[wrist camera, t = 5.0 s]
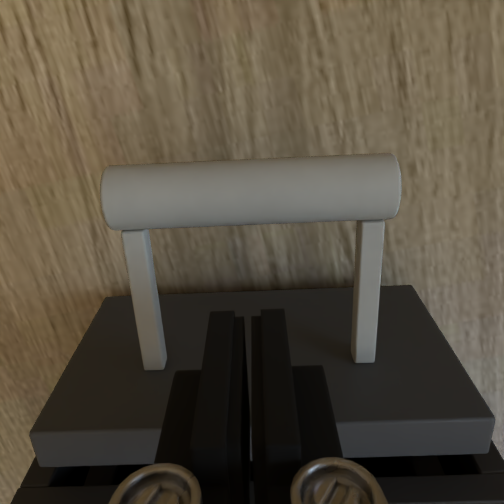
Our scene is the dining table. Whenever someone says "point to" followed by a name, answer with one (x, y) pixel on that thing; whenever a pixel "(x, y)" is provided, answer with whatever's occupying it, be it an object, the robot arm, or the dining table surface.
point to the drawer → (250, 304)
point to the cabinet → (394, 488)
